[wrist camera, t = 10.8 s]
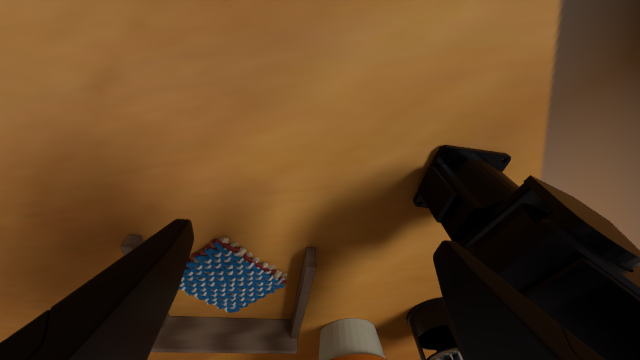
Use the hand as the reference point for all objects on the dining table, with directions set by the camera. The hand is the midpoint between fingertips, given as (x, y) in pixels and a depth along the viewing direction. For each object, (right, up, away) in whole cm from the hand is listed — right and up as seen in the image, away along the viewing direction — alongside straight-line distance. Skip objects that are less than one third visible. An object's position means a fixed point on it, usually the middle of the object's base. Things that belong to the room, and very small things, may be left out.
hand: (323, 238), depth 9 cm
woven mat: (-11, -9, +21) cm, 25 cm away
